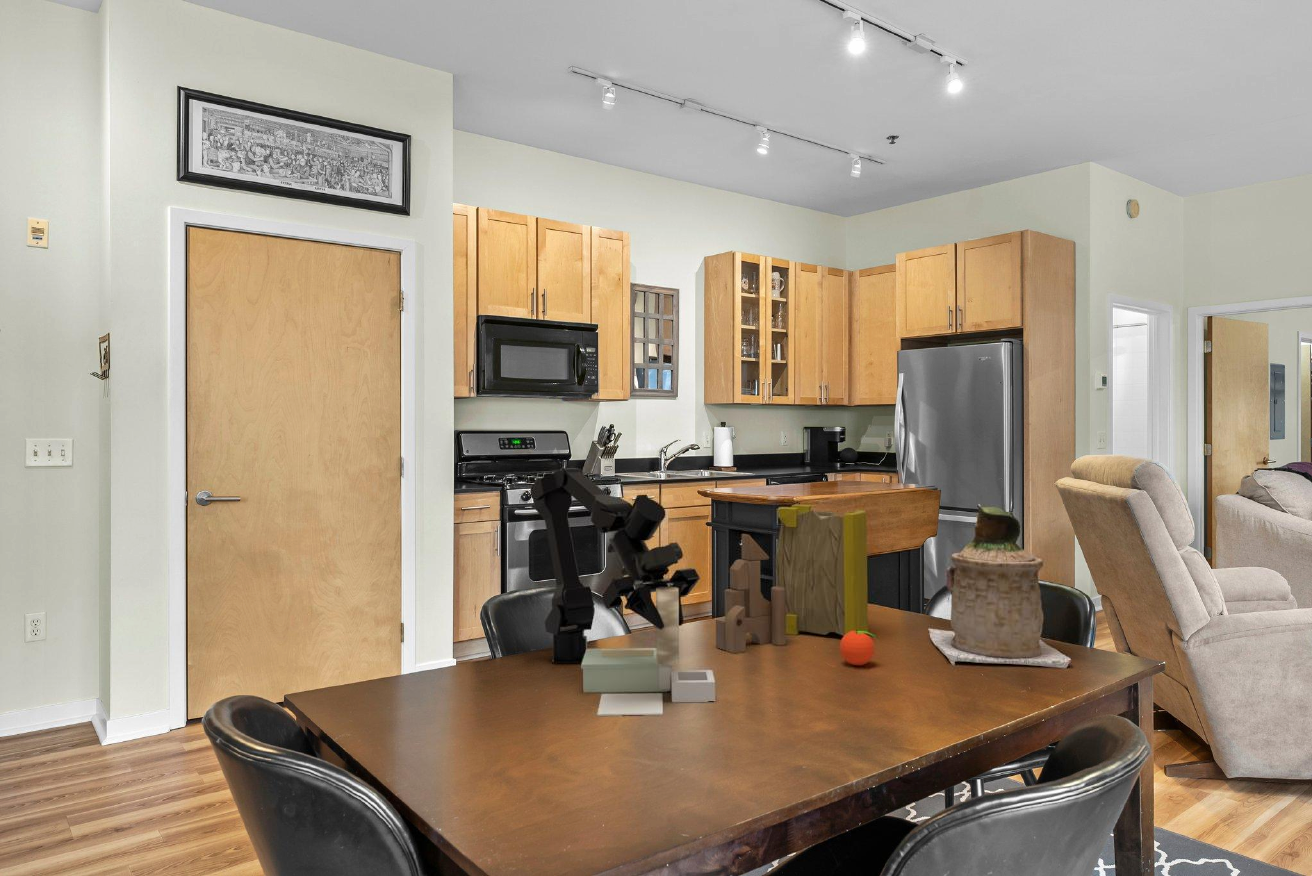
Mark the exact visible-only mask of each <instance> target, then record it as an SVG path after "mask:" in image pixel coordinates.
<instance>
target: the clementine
mask: <svg viewBox="0 0 1312 876" xmlns="http://www.w3.org/2000/svg"><path fill="white" fill-rule="evenodd" d="M870 635H871V636H873V637H875V635H874V634H872V633H870V632H869V631H868V632H865V631H858V630H856V631H850V632H848V633H847V634H845V635H844V636H843V637H842V638H841V640H840V643H839V644H840V645H839V651H840V655H841V657H842V658H843V659H844V660H845V661H846V662H847V663H848V664H849V665H852V666H853V665H854V666H856V667H857V666H860V667H861V666H863V665H866V664H868V663H870V662H871V660H872V659H873V657H874V655H875V643H874V641H873V639H872V637H871V636H870Z"/></svg>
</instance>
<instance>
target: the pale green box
mask: <svg viewBox="0 0 1312 876" xmlns="http://www.w3.org/2000/svg"><path fill="white" fill-rule="evenodd" d="M580 664H581V666H580V669H581V670H582V681H583V682H582V690H583V693H631V692H632V693H640V692H641V693H652V692H653V693H654V692H655V693H663V692H665V693H666V692H667V691H670V693H671V702H672V703H709V702H708V701H714V702H713V703H715V702H716V680H715V676H714V673H713V672H714V671H713V669H712V670H711V669H698V670H697V669H694V670H693V669H692V670H691V669H687V670H686V669H685V670H684V669H683V670H682V669H681V670H679V669H677V670H676V669H674V670H671V669H672V668H673V667H672V666H673V665H662V664H658V663H657V654H656V647H617V648H613V647H612V648H603V647H602V648H587V649H586V652H585V655H584V658H583V661H582V663H580Z"/></svg>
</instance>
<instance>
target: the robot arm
mask: <svg viewBox="0 0 1312 876" xmlns="http://www.w3.org/2000/svg"><path fill="white" fill-rule="evenodd" d="M529 491H530V497H531V498H532V503H533V504H534V505H533V506H534V508H535V511H536V512H537V513H538V514H539V516H540V517H542V519H543V520H544V522H545V528H546V533H547V540H548V545H549V549H550V556H551V561H552V567H553V572H554V578H555V583H556V587H555V589H554V593H553V595H552V597H551V607H552V609H551V610H550V612H549V614H548V615H547V617H546V618H545V621H544V625H545V632H547V633H549V634H551V635H552V636H553V637H552V638H553V639H552V641H553V642H552V643H553V644H552V645H553V646H552V647H553V648H552V649H553V650H552V651H553V652H552V653H553V658H552V660H551V664H582V661H583V658H584V655H585V652H586V649H588V636H587V635H585V631H587V630H590V631H591V630H592V627H593V622H594V617H595V611H596V610H595V602H594V600H593V592H592V589H591V587H590V586H589V585H587V586H585V585H584V584H583V583H582V581H581V580H580V575H579V570H578V566H577V559H576V556H575V554H576V553H575V549H574V544H573V543H574V542H573V538H572V532H571V528H570V522H569V518H568V514H569V512H570V509H571V506H572V504H573V498H574V499H575V500H576V501H577V502H578V503H579V504H580V505H581V506H583V507H584V508H585V509H586V510H587V511H588V512H589V513H590V521H591V522H592V524H593V525H594V527H595V528H596V529H597V531H598V532H599V533H601V534H610V533H615V534H614V535H613V537H612V538H610V539H609V544H608V546H607V553H609V554H611V553H613V554H614V553H616V554H617V557H618V559H619V560H620V562H621V565H622V567H623V568H622V570H621V571H620V572H621V575H622V576H620V577H612V578H611V580H610V582H609V583H608V585H607V587H606V588H605V590H604V591H603V592H602V595H601V596H602V599H601V600H602V602H603V604H604V606H605V608H606V609H607V610H608V609H614V608H620V607H621V604H622V603H623V599H622V597H625V600H626V603H625V605H624V609H625V610H630V611H632V612H634V613H635V614H637V615H639V616H640V617H642V618H643V619H645V620H646V621H647V622H649V623H650V624H652V625H653V626H655V627H657V628H659V629H663V627H664V624H663V621H662V619H661V616H660V615H659V613H658V611H657V609H656V604H655V603H654V600H653V598H652V593H656V588H659V587H676V588H678V589H679V627H682V626H683V624H684V616H683V607H682V601H681V599H682V598H684V597H687V596H688V595H689V594H690V593H691V591H692V590H693V589H694V588H695V586H696V585H697V583H698V582H699V581H700V579H701V577H700V575H699V574H698V572H697V570H696V568H691V567H689V568H688V567H687V568H681V569H676V570H675V572H674V573H673V574H672V576H671V577H670V578H669V577H667V578H665V577H664V576H666V575H667V574H668V573H669V572H670V570H669V567H670V566H672V565H676V564H678V563H679V561H680V560H681V559H683V556H684V553H683V550H682V547H681V546H680V545H679V543H678V542H670V543H669V544H667V545H664V546H663V545H662V546H657V547H653V548H651V549H649V547H648V545H647V543H646V541H650V540H651V539H652V537H653V536H654V535H655V533H656V532H657V530H658V529H659V527H660V525H661V524H662V523H663V521H664V519H665V518H666V509H665V508H664V506H663V505H661V504H660V503H659V502H658V501H656V500H654V499H651V498H649V497H648V495H647V494H637V496H636V497H635V499H634V502H633V503H632V504H631V502H628V501H627V500H624V499H623V498H619V497H616V496H612V495H609V494H607V493H606V492H605V491H604V490H603V489H602V488H600V487H599V486H598V485H597V484H595V483H594V482H593V481H592V480H591V479H590V478H588V476H586V475H585V474H584V473H583V470H582V469H580V468H577V467H570V468H567V467H565V468H563V467H562V468H560V469H557V470H556V471H555V472H553V473H551V474H549V475H546V476H543V477H541V478H537V479H536V480H535V481H534V483H532V484H531V486H530V490H529Z"/></svg>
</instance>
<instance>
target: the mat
mask: <svg viewBox="0 0 1312 876" xmlns="http://www.w3.org/2000/svg"><path fill="white" fill-rule="evenodd" d="M663 710H664V709H663V692H655V693H654V692H653V693H652V692H646V693H601V696H600V700H599V705H598V709H597V713H596V715H597V717H602V716H603V717H614V716H615V717H623V716H622V715H627V717H628V715H644V716H663V715H664V711H663Z"/></svg>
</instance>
